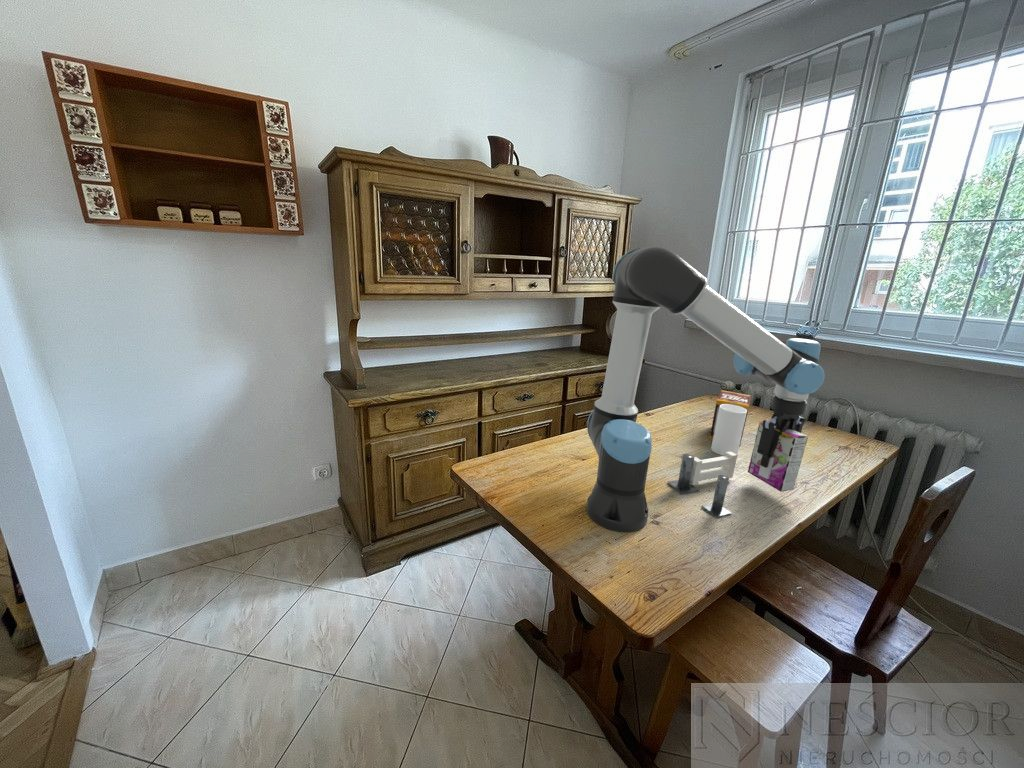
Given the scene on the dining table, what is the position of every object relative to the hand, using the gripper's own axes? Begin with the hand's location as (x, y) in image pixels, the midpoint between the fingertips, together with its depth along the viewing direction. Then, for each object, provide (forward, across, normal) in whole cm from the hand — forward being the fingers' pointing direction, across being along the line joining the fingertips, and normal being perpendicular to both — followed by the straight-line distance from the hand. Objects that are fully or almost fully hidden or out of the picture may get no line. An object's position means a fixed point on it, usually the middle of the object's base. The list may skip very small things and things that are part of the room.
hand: (771, 474), depth 113 cm
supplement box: (+6, +22, +34) cm, 41 cm away
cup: (+6, +10, +24) cm, 27 cm away
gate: (+4, -12, +9) cm, 16 cm away
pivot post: (+5, -22, +9) cm, 24 cm away
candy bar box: (+2, 0, 0) cm, 2 cm away
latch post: (+5, -22, -3) cm, 23 cm away
